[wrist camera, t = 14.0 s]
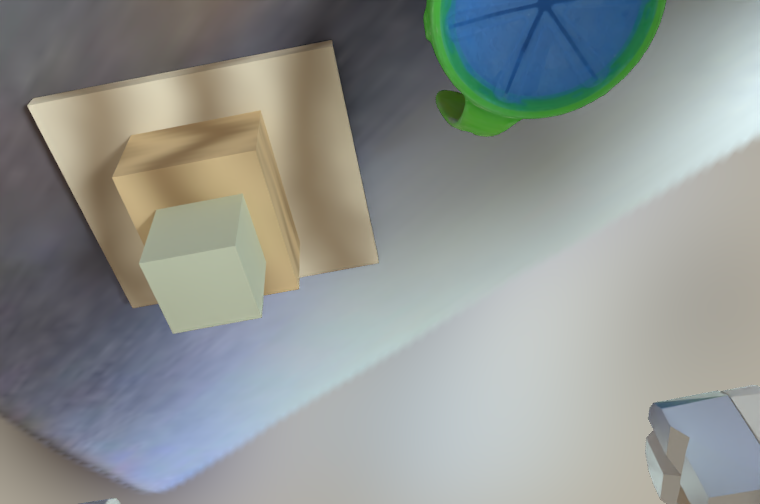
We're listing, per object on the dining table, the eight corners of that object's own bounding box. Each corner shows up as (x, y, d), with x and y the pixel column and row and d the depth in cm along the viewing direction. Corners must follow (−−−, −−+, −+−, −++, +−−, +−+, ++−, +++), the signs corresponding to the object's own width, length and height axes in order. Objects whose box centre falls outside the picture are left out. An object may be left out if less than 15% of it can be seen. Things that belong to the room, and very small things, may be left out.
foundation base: (331, 39, 40) (334, 80, 35) (377, 254, 50) (385, 309, 45) (32, 98, 41) (-5, 146, 36) (135, 299, 50) (117, 358, 45)
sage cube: (242, 193, 39) (235, 245, 35) (266, 262, 42) (261, 317, 38) (156, 209, 39) (138, 263, 35) (186, 276, 42) (172, 333, 38)
